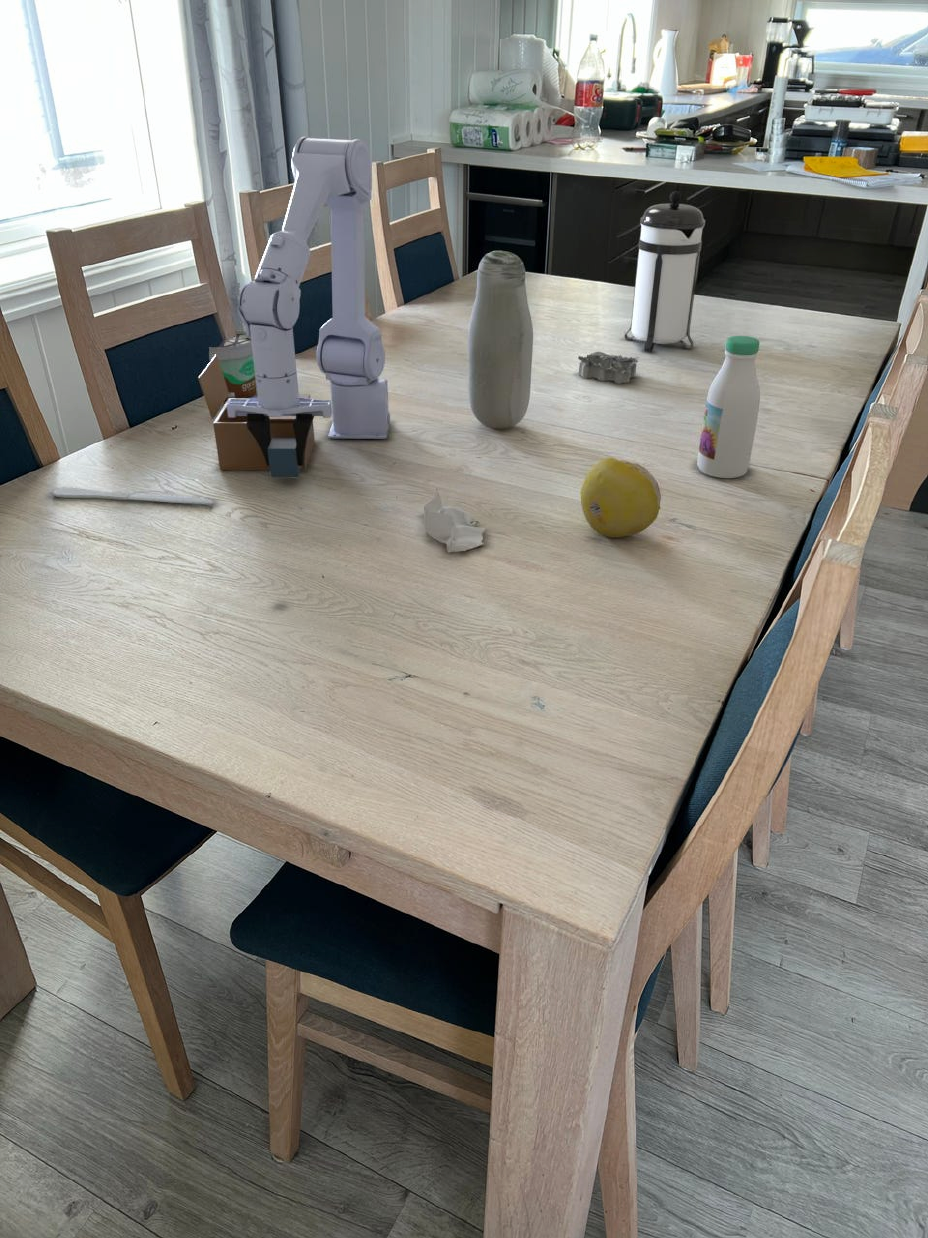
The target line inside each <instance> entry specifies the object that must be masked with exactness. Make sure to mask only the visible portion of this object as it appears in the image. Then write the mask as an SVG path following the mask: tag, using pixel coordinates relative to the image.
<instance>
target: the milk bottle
mask: <svg viewBox="0 0 928 1238" xmlns="http://www.w3.org/2000/svg"><path fill="white" fill-rule="evenodd" d="M759 349H760V340H759V339H758V338H756V337H753V336H748V335H732V336H729V337H728V338H726V340H725V350H724V354H725V358H724V361H723V364H722V365H721V368H720V370H719V371H718V373H717V375H715V377H714V379H713V381H712V383H711V385H710V387H709V390H708V393H707V398H706V402H705V408H704V414H703V421H702V427H701V433H700V440H699V447H698V453H697V460H696V466H697V469H698V470H699V471H700V472H701V473H703V474H705V475H708V476H711V477H714V478H720V479H735V478H740V477H743V476H744V475H745V474H746V473H747V472H748V471H749V467H750V463H751V457H752V451H753V447H754V446H753V445H754V440H755V435H756V430H757V423H758V416H759V410H760V405H761V387H760V383H759V379H758V376H757V372H756V371H757V370H756V358H757V357H758V352H759Z"/></svg>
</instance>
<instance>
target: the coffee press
mask: <svg viewBox="0 0 928 1238" xmlns="http://www.w3.org/2000/svg"><path fill="white" fill-rule="evenodd" d="M668 198H669V201H670V203H659V204H654V205H652V206H651V205H650V206H649V207H648V208H646V210H644V213H643V215H642V216H641V217H640V219H639V223H640V226H641V227H640V236H639V238H638V246H637V247H638V251H637V252H638V253H637V258H636V269H635V278H634V292H633V300H632V301H633V302H632V313H631V314H632V315H631V323H630V327H629V329H628V330H627V331H626V333H625V334H624V339H625V340H626V341H630V340H631V339H633V338H634V337H635V339H637V340H640V341H642V342H645V345H644V347H643V348H644V349H643V350H644V352H647V353H652V352H653V349H654V347H655V345H656V344H664V345H665V344H675V343H681V344H682V346H683V347H684V348H685V349H687V350H688V349H689V350H690V349H691V348H692V347H693V346H694V341H693V339H692V336H691V333H690V332H691V325H692V316H693V309H694V301H695V293H696V287H697V286H696V285H697V279H698V271H699V263H700V254H701V251H702V243H703V240H702V234H703V229H704V227H705V225H706V219H704V215H703V212H702V211H701V209H699V208H697V207H696V206H693V205H690V204H685V203H679V202H680V201H681V199H682V194H681V193H680V192H679V191H678V190H675V191H672V192H671V193H670V195H669V196H668ZM630 331H631V334H632V335H633V336H632V337H629V336H628V334H629V332H630ZM686 338H687V340H688V341H689V343H690V345H688V344H687V343H686V342H685V339H686Z"/></svg>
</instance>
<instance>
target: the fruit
mask: <svg viewBox="0 0 928 1238" xmlns="http://www.w3.org/2000/svg"><path fill="white" fill-rule="evenodd" d="M585 475H586V476H585V477H584V480H583V482H582V485H581V489H580V505H581V510H582V512H583V517H584V518H585V520H586V522H587V523H588V525H589V526H590V527H591V528H592V530H593V531H595V532H596V533H597V534H599V535H601V536H604V537H607V538H624V537H629V536H633V535H636V534H639V533H642V532H643V531H644V530H646V529H648V528H649V527H650V526H651V525H652V524H653V523H654V522H655V521H656V520H657V518H658V516H659V511H660V510H661V502H662V501H661V500H662V493H661V489H660V486H659V483H658V481H657V480H656V479H655V477H654V476H653V474H652V473H651V472H649V470H648V469H647V468H645V467H644V466H642V465H641V464H639V463H635V462H631V461H627V460H619V459H617V458H615V457H607V458H604V459H602V460H599V461H598V462H596V464H594V465H593V466H592V467H591V468H590V470H589V471H588V472H587V474H585Z"/></svg>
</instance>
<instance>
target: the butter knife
mask: <svg viewBox="0 0 928 1238" xmlns="http://www.w3.org/2000/svg"><path fill="white" fill-rule="evenodd" d="M52 495H53V497H56V498H65V499H66V498H68V499H72V498H73V499H108V500H109V499H110V500H119V501H127V500H134V501H145V502H162V503H176V504H178V503H179V504H193V505H194V504H195V505H213V504H214V502H213V501H214V500H210V499H207V498H202V497H195V496H184V495H174V494H162V493H161V494H160V493H148V492H147V493H146V492H138V493H135V494H130V493H122V492H120V493H119V492H105V491H98V490H97V491H96V490H89V489H83V488H77V487H76V488H75V487H60V488H57V489H55V490H53V492H52Z"/></svg>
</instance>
